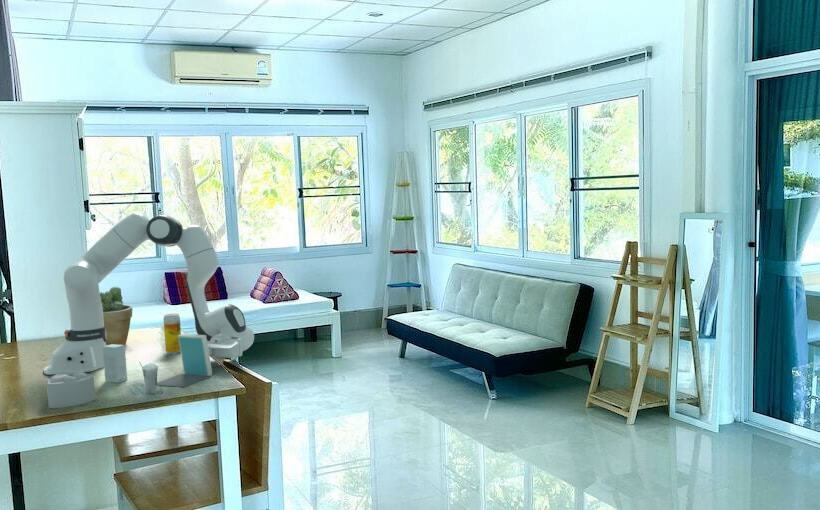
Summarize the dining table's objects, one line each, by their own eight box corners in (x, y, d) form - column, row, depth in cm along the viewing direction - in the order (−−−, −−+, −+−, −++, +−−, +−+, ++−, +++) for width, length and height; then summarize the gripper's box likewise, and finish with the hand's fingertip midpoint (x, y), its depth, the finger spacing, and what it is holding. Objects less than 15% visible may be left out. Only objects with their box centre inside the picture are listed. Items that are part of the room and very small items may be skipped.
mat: (181, 374, 255) (181, 373, 255) (210, 376, 250) (210, 375, 250) (152, 385, 242) (152, 384, 242) (182, 387, 237) (182, 386, 237)
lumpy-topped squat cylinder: (48, 400, 228) (46, 373, 227) (94, 394, 233) (92, 367, 233) (48, 409, 218) (46, 380, 218) (96, 402, 224) (94, 374, 223)
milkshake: (143, 391, 235) (141, 360, 234) (160, 390, 235) (158, 359, 234) (139, 395, 230) (137, 363, 229) (157, 394, 231) (155, 362, 230)
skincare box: (127, 379, 250) (125, 344, 249) (118, 383, 246) (115, 347, 245) (114, 378, 253) (111, 343, 251) (104, 381, 249) (101, 346, 248)
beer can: (177, 354, 287) (174, 316, 286) (162, 354, 289) (160, 316, 287) (184, 350, 293) (182, 313, 292) (170, 350, 294) (168, 313, 293)
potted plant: (118, 339, 322) (114, 282, 320) (144, 343, 311) (140, 284, 309) (78, 347, 307) (74, 287, 305) (104, 352, 296) (99, 290, 294)
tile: (188, 372, 257) (181, 333, 253) (212, 374, 253) (205, 335, 250) (184, 374, 255) (177, 336, 251) (208, 376, 251) (201, 337, 248)
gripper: (197, 335, 270) (172, 343, 257) (245, 338, 262) (221, 346, 249) (198, 353, 270) (173, 361, 258) (246, 356, 263) (222, 365, 250)
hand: (197, 354), depth 253 cm, fingers closed
